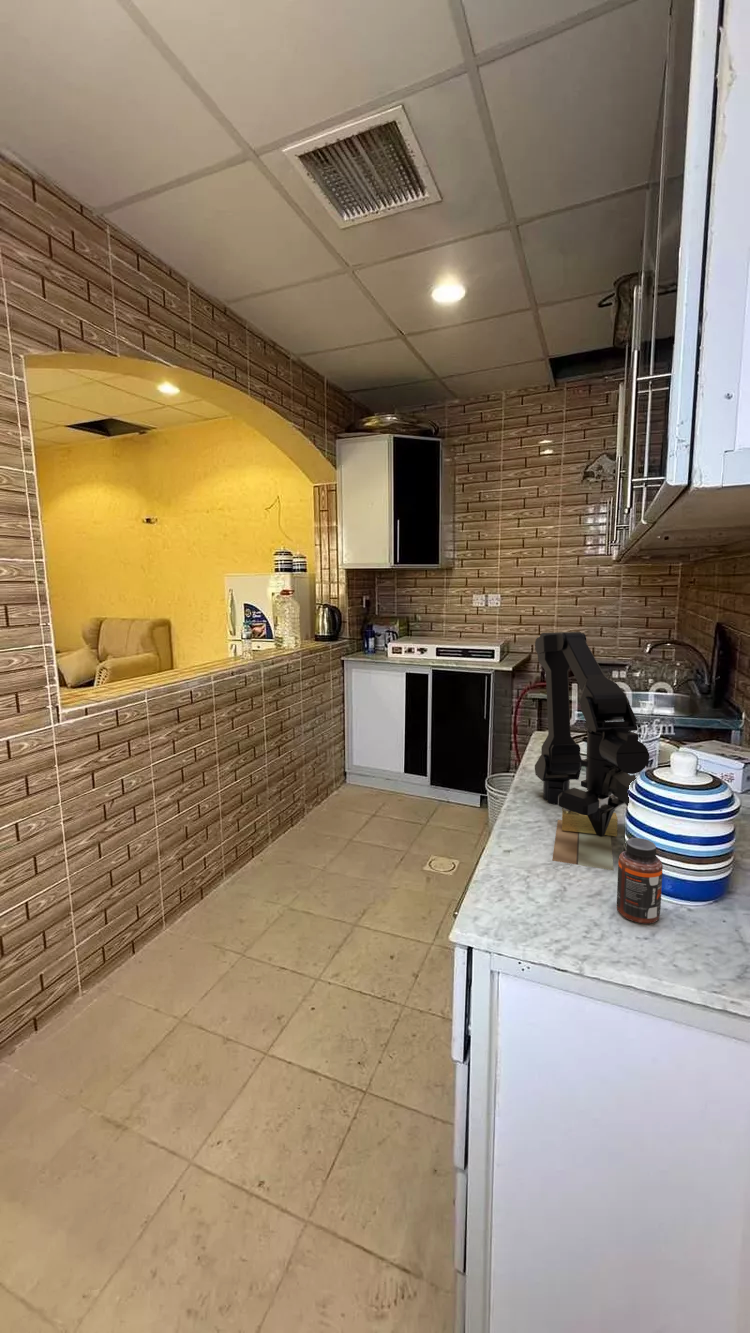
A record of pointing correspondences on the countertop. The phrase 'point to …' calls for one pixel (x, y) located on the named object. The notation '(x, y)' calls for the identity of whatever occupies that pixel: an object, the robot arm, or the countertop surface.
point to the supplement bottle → (639, 882)
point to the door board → (582, 849)
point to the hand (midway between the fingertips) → (600, 835)
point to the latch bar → (585, 823)
